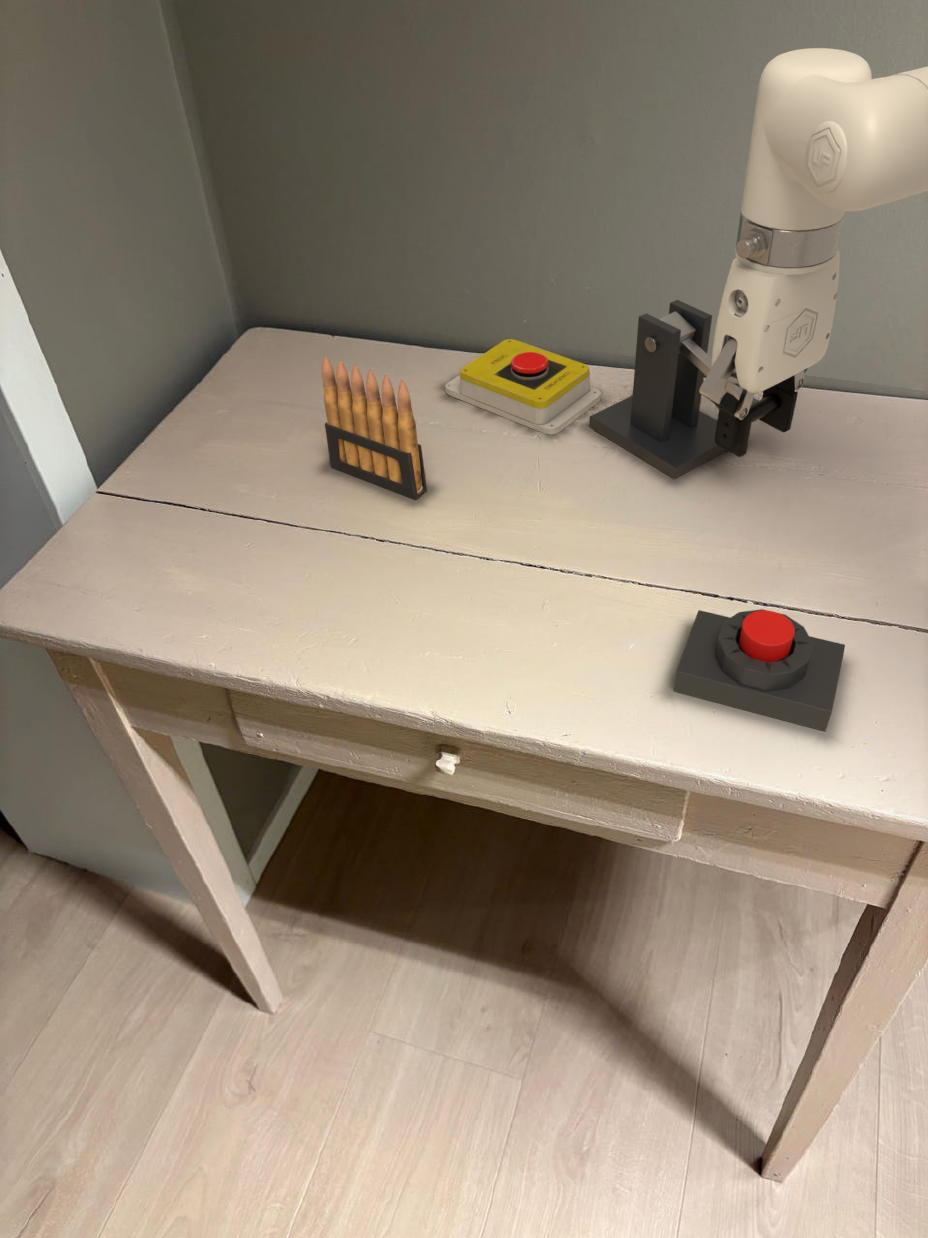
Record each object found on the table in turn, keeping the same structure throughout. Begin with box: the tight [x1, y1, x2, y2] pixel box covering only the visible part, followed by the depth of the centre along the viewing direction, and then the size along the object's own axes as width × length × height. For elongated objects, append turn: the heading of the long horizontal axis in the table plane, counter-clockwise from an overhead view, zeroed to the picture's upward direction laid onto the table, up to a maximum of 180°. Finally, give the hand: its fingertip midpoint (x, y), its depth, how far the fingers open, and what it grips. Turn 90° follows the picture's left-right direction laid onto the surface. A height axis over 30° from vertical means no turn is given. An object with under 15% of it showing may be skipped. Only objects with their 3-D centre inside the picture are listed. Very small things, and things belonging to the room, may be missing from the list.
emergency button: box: [444, 338, 602, 436], centre depth 102 cm, size 9×4×15 cm
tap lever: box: [658, 311, 781, 423], centre depth 87 cm, size 13×5×2 cm, turn 37°
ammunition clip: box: [321, 355, 428, 501], centre depth 89 cm, size 11×2×12 cm, turn 55°
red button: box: [739, 609, 795, 662], centre depth 69 cm, size 4×4×2 cm
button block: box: [673, 608, 846, 732], centre depth 71 cm, size 11×7×4 cm, turn 67°
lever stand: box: [588, 299, 728, 480], centre depth 92 cm, size 12×9×13 cm
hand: (752, 435), depth 86 cm, fingers closed on tap lever, 5 cm apart
